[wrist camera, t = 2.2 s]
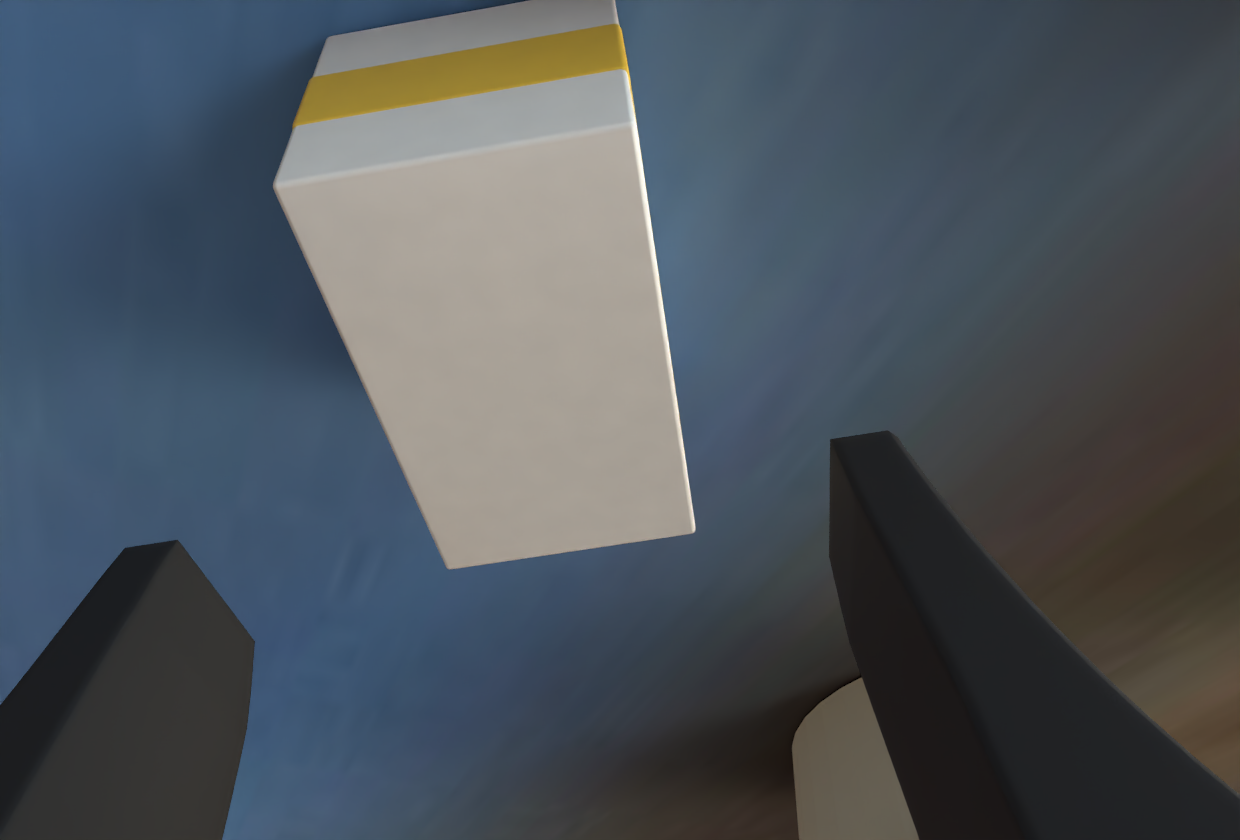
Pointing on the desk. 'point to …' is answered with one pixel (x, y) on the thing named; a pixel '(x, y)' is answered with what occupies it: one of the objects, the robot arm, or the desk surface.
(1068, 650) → the robot arm
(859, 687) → the reusable coffee cup
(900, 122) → the desk surface
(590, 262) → the tea packet
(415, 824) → the desk surface
